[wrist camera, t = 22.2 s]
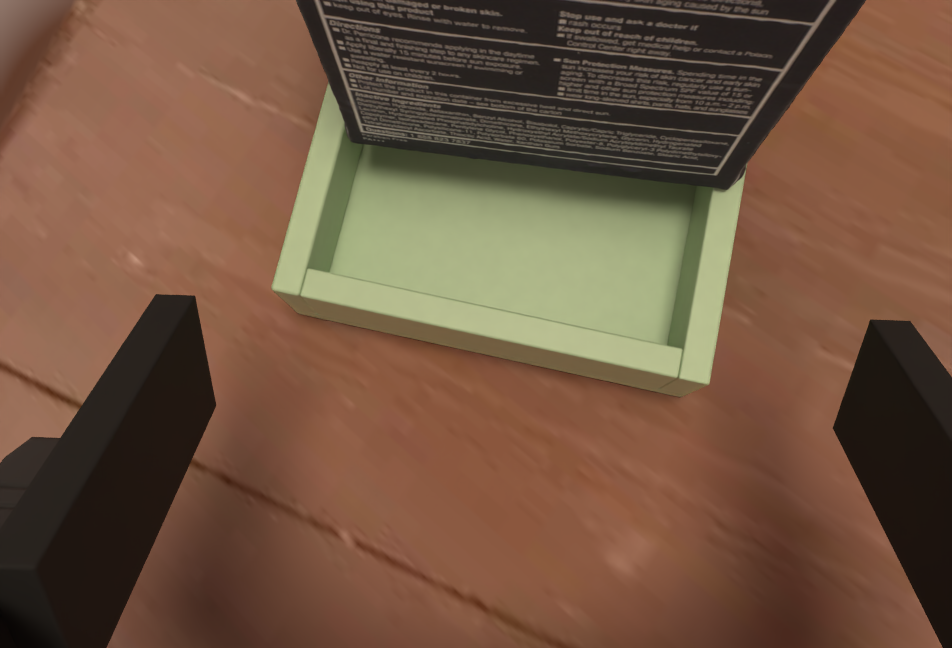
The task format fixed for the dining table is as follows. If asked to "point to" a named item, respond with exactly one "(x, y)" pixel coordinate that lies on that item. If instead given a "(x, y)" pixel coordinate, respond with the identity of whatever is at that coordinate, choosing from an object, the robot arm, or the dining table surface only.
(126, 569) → the robot arm
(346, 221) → the tray
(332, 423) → the dining table surface
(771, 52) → the small box
